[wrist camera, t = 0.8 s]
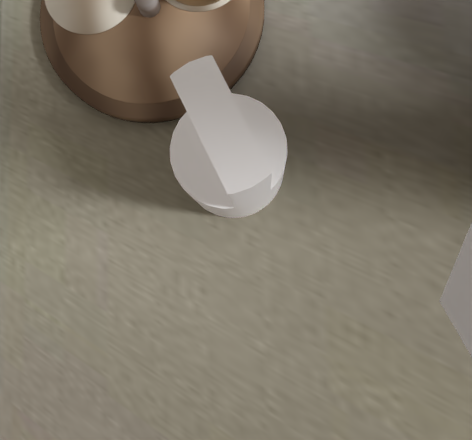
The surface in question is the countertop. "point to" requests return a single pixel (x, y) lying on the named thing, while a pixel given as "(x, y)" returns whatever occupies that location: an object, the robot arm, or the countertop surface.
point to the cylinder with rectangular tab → (225, 144)
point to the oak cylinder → (197, 2)
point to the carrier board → (145, 49)
